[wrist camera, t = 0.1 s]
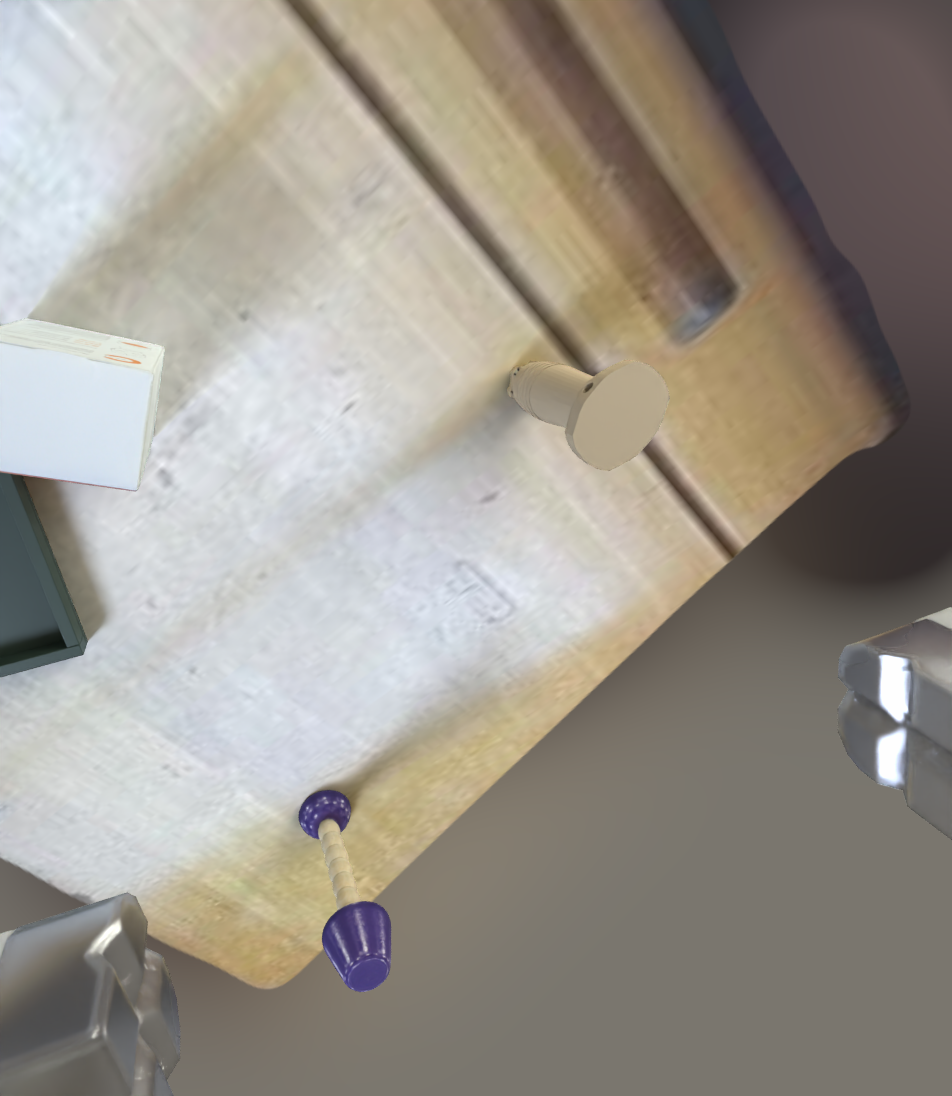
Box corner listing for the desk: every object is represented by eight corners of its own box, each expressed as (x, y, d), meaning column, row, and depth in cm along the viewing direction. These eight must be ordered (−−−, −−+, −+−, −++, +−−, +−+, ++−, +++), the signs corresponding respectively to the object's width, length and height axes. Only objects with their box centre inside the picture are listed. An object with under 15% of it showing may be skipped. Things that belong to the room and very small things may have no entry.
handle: (474, 396, 57) (557, 434, 43) (531, 326, 56) (632, 344, 43) (519, 437, 59) (612, 485, 45) (574, 370, 59) (684, 400, 45)
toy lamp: (350, 780, 64) (394, 935, 49) (362, 824, 66) (408, 987, 51) (292, 799, 63) (319, 964, 48) (306, 844, 65) (336, 1016, 50)
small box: (14, 420, 48) (-48, 467, 37) (23, 315, 47) (-40, 330, 35) (155, 443, 51) (139, 494, 39) (167, 346, 50) (155, 368, 38)
